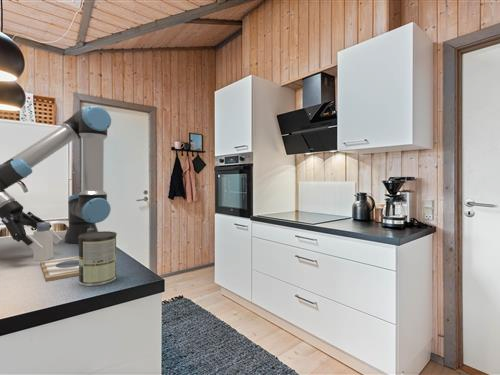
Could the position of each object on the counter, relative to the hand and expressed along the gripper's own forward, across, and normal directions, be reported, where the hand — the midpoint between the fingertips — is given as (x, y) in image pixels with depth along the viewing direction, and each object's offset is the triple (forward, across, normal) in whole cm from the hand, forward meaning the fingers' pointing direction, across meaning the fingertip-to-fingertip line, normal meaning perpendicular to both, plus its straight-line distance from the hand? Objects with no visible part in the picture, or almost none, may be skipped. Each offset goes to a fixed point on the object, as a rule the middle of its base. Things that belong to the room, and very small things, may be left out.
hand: (50, 245), depth 108 cm
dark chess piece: (+13, -5, +5) cm, 15 cm away
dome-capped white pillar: (+2, 0, -5) cm, 6 cm away
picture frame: (+13, +12, +6) cm, 19 cm away
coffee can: (+23, +26, +15) cm, 38 cm away
